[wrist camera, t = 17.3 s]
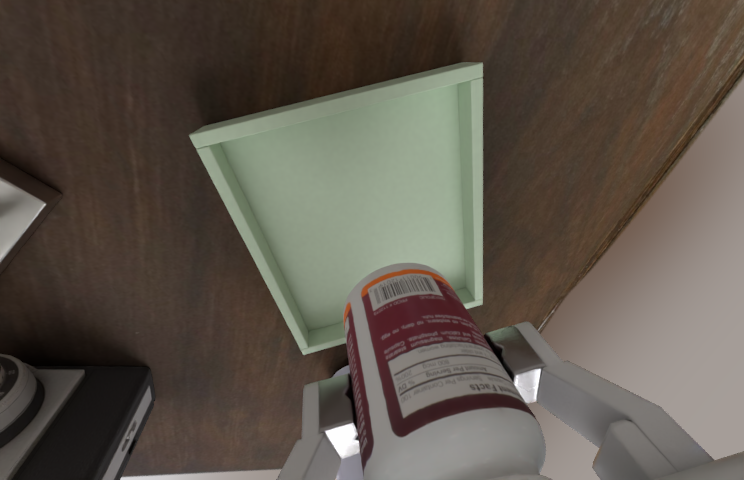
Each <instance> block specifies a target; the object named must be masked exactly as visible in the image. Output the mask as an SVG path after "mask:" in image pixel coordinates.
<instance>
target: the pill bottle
mask: <svg viewBox="0 0 744 480" xmlns="http://www.w3.org/2000/svg"><path fill="white" fill-rule="evenodd" d="M343 322H344V330H345V339H346V345H347V353H348V360H349V368H350V376H351V383H352V392H353V399H354V407H355V415H356V423H357V431H358V438H359V448H360V455H361V463H362V469H363V478H364V480H552V479H551V478H548V477H546V476H543V475H540V472H541V469H542V467H543V464H544V461H545V455H546V446H545V440H544V436H543V433H542V430H541V427H540V424H539V423H538V421H537V420H536V418H535V416H534V414H533V413H532V412H531V410H530V409H529V407H528V406H527V404H526V402H525V401H524V399H523V398H522V396H521V394H520V393H519V391H518V390H517V388H516V387H515V385H514V383H513V382H512V380H511V379H510V377H509V376H508V374H507V372H506V371H505V369H504V368H503V366H502V365H501V363H500V361H499V360H498V358H497V357H496V355H495V354H494V352H493V351H492V349H491V347H490V346H489V345H488V343H487V341H486V340H485V338H484V337H483V335H482V333H481V331H480V330H479V328H478V327H477V325H476V324H475V322H474V321H473V319H472V317H471V316H470V314H469V313H468V311H467V310H466V308H465V307H464V305H463V303H462V302H461V300H460V299H459V297H458V296H457V294H456V293H455V291H454V290H453V288H452V286H451V285H450V283H449V282H448V280H447V279H446V278H445V277H444V276H443V275H442V274H441V273H439V272H438V271H437V270H435V269H433V268H431V267H429V266H427V265H423V264H418V263H398V264H392V265H389V266H386V267H383V268H380V269H378V270H376V271H374V272H372V273H370V274H369V275H367V276H366V277H365V278H364V279H362V280H361V281H360V282H359V283H358V284H357V285H356V286H355V287H354V288H353V289H352V291H351V292H350V294H349V295H348V297H347V299H346V302H345V305H344V310H343Z"/></svg>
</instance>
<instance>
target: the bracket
mask: <svg viewBox="0 0 744 480" xmlns="http://www.w3.org/2000/svg"><path fill="white" fill-rule="evenodd" d="M61 197H62V194H61V193H59V192H58V191H56V190H54V189H52V188H51V187H49V186H47V185H46V184H44V183H42V182H40V181H39V180H37V179H35V178H34V177H32V176H30V175H28V174H27V173H25V172H23V171H22V170H20V169H18V168H16V167H15V166H13V165H11V164H10V163H8V162H6V161H4V160H3V159H1V158H0V274H1V273H2V272H3V271H4V269H5V268H6V267H7V266H8V264H9V263H10V262H11V260H12V259H13V258H14V257H15V255H16V254H17V253H18V252H19V250H20V249H21V248H22V247H23V245H24V244H25V243H26V241H27V240H28V239H29V238H30V236H31V235H32V234H33V233H34V231H35V230H36V229H37V228H38V226H39V225H40V224H41V222H42V221H43V220H44V219H45V217H46V216H47V215H48V214H49V212H50V211H51V210H52V209H53V207H54V206H55V205H56V203H57V202H58V201H59V200H60V198H61Z"/></svg>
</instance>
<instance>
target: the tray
mask: <svg viewBox="0 0 744 480" xmlns="http://www.w3.org/2000/svg"><path fill="white" fill-rule="evenodd" d="M482 77H483V63H482V62H461V63H457V64H453V65H449V66H445V67H441V68H437V69H433V70H429V71H425V72H421V73H417V74H413V75H409V76H405V77H400V78H396V79H392V80H388V81H384V82H380V83H376V84H372V85H368V86H364V87H360V88H356V89H352V90H348V91H344V92H340V93H336V94H332V95H327V96H323V97H319V98H315V99H311V100H307V101H303V102H299V103H295V104H291V105H287V106H283V107H279V108H275V109H271V110H267V111H263V112H259V113H254V114H250V115H246V116H242V117H238V118H234V119H230V120H226V121H222V122H218V123H214V124H210V125H206V126H203V127H201V128H200V129H198V130H197V131H195V132H193V133H192V134H190V135H189V137H190V139H191V141H192V143H193V145H194V146H195V148H197V152H198V154H199V156H200V158H201V160H202V162H203V163H204V165H205V167H206V169H207V171H208V173H209V175H210V177H211V179H212V181H213V183H214V185H215V186H216V188H217V190H218V192H219V194H220V196H221V198H222V200H223V202H224V204H225V206H226V208H227V209H228V211H229V213H230V215H231V217H232V219H233V221H234V223H235V225H236V227H237V229H238V231H239V233H240V234H241V236H242V238H243V240H244V242H245V244H246V246H247V248H248V250H249V252H250V254H251V256H252V257H253V259H254V261H255V263H256V265H257V267H258V269H259V271H260V273H261V275H262V277H263V279H264V280H265V282H266V284H267V286H268V288H269V290H270V292H271V294H272V296H273V298H274V300H275V302H276V304H277V305H278V307H279V309H280V311H281V313H282V315H283V317H284V319H285V321H286V323H287V325H288V327H289V328H290V330H291V332H292V334H293V336H294V338H295V340H296V342H297V344H298V346H299V348H300V349H301V351H302V353H303V355H305V354H309V353H312V352H316V351H319V350H323V349H326V348H330V347H333V346H337V345H340V344H344V343H346V339H345V330H344V322H343V310H344V305H345V302H346V299H347V297H348V295H349V294H350V292H351V291H352V289H353V288H354V287H355V286H356V285H357V284H358V283H359V282H360V281H361V280H362V279H364V278H365V277H366V276H367V275H369V274H370V273H372V272H374V271H376V270H378V269H380V268H383V267H386V266H389V265H392V264H398V263H418V264H423V265H427V266H429V267H431V268H433V269H435V270H437V271H438V272H439V273H441V274H442V275H443V276H444V277H445V278H446V279H447V280H448V282H449V283H450V285H451V286H452V288H453V290H454V291H455V293H456V294H457V296H458V297H459V299H460V300H461V302H462V303H463V305H464V307H465V308H466V309H468V308H472V307H475V306H479V305H482V304H483V299H482V298H483V78H482Z"/></svg>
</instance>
